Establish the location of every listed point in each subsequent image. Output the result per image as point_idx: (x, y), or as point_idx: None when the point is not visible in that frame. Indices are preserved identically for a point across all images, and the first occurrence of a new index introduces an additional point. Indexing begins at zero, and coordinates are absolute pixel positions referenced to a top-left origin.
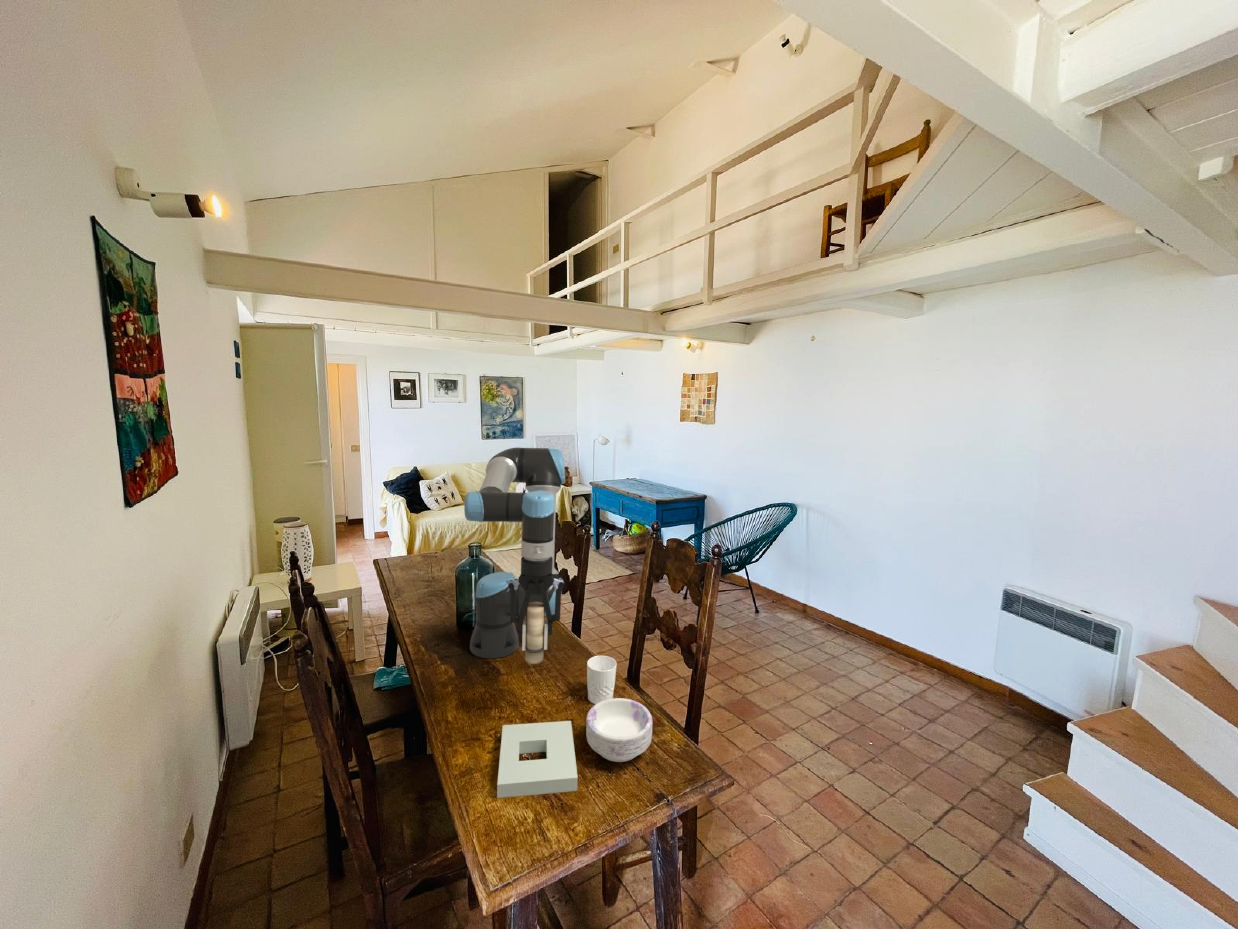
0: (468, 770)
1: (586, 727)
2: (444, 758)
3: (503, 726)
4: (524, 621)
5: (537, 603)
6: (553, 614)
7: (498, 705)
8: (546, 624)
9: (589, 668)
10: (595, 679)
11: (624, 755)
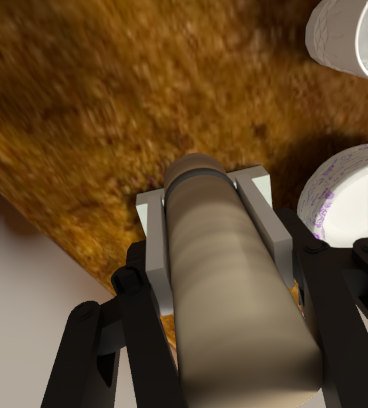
0: (112, 263)
1: (305, 224)
2: (62, 249)
3: (138, 208)
4: (158, 279)
5: (265, 357)
6: (350, 270)
7: (87, 97)
8: (287, 285)
9: (356, 62)
10: (356, 75)
11: None
